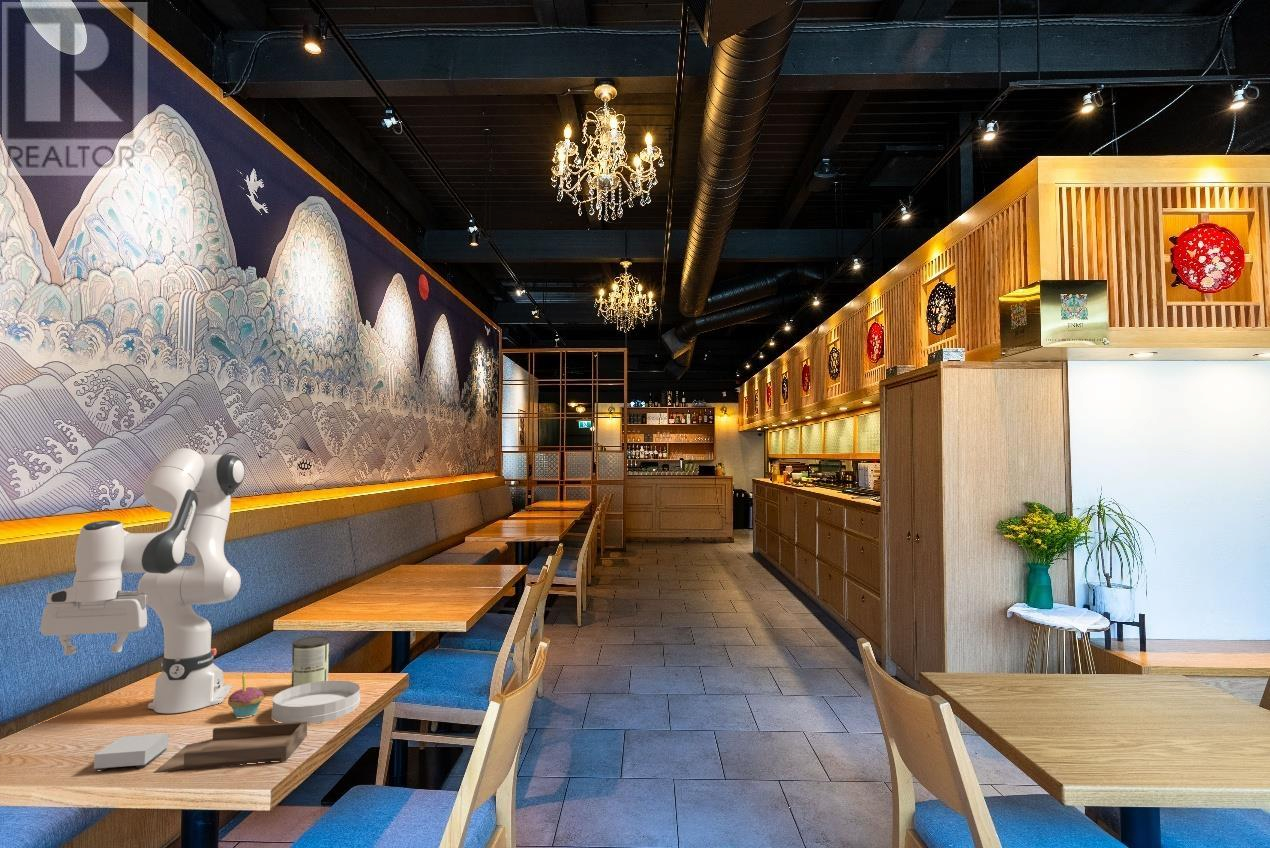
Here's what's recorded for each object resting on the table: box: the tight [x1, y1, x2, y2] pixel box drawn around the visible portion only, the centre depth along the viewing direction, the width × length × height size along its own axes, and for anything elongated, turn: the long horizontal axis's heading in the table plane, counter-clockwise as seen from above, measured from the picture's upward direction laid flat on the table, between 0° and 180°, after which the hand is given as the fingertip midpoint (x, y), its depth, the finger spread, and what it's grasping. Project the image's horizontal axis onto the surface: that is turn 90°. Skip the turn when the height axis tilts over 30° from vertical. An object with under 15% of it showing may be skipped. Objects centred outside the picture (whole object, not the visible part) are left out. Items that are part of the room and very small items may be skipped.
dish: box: [271, 679, 361, 724], centre depth 182 cm, size 22×22×5 cm
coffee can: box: [291, 635, 330, 687], centre depth 202 cm, size 10×10×14 cm
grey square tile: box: [93, 732, 170, 772], centre depth 150 cm, size 10×10×4 cm
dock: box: [153, 721, 308, 773], centre depth 154 cm, size 15×27×4 cm, turn 100°
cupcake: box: [227, 671, 265, 718], centre depth 179 cm, size 9×8×12 cm
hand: (93, 653), depth 151 cm, fingers open, 8 cm apart
